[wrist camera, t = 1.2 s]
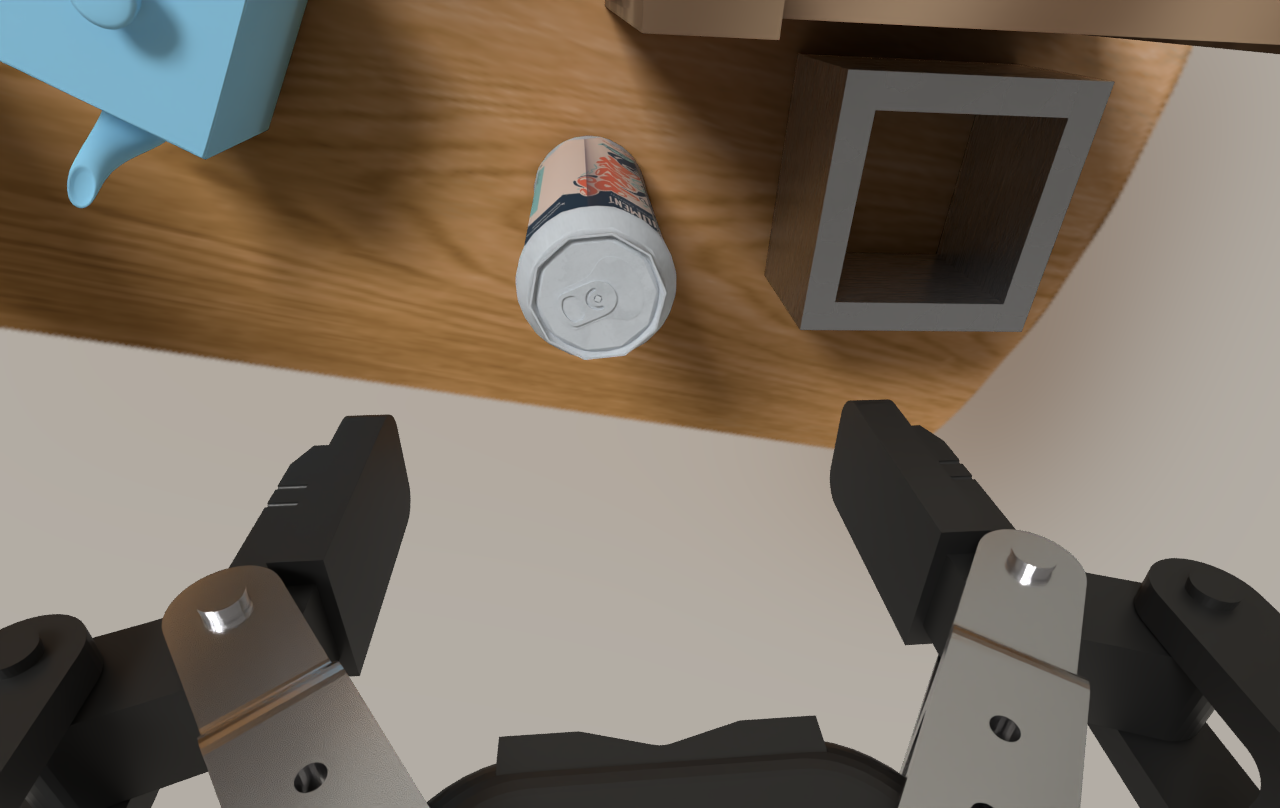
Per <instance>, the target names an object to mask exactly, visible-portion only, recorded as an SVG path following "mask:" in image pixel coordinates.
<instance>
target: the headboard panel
mask: <svg viewBox="0 0 1280 808" xmlns="http://www.w3.org/2000/svg"><path fill="white" fill-rule="evenodd" d="M605 7H607V8H608V9H609V10H611V11H612V12H614V13H615V14H616V15H618V16H619V17H621V18H622V19H623V20H625V21H626V22H627V23H629V24H630V25H632V26H633V27H634V28H636V29H637V30H639V31H640V32H641V33H648V34H668V35H688V36H709V37H729V38H749V39H769V40H779V39H780V32H781V24H782V19H799V20H818V21H837V22H856V23H875V24H894V25H913V26H932V27H951V28H970V29H990V30H1009V31H1028V32H1047V33H1066V34H1081V35H1091V36H1101V37H1111V38H1122V39H1132V40H1142V41H1152V42H1162V43H1172V44H1182V45H1192V46H1203V47H1212V48H1213V47H1214V48H1223V49H1233V50H1243V51H1253V52H1263V53H1273V54H1280V0H605Z"/></svg>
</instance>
